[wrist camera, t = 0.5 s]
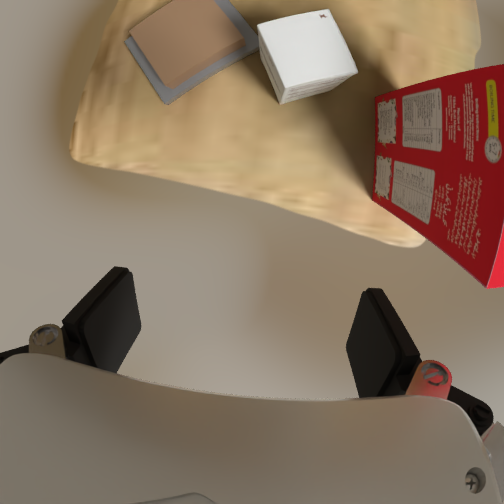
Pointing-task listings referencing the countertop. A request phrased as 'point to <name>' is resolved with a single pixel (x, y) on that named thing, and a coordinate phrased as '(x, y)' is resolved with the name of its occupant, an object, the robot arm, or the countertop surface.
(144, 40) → the pedestal
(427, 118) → the food packaging
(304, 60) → the supplement box
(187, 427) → the robot arm
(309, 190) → the countertop surface
